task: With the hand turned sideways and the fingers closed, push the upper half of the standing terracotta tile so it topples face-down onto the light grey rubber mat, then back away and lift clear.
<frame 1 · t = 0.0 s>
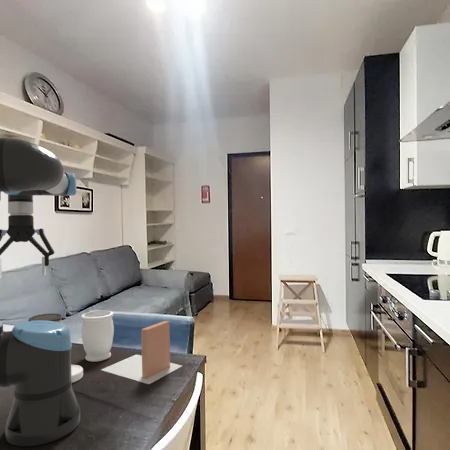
hand: (22, 276, 125), 28 cm above the table, tool pointing down, fingers open, 13 cm apart
coffee can: (46, 358, 125), on the table
mat: (142, 370, 113), on the table
white bowl: (64, 383, 106), on the table
jar: (98, 358, 125), on the table
tile: (156, 371, 110), point 1 cm above the table, touching mat
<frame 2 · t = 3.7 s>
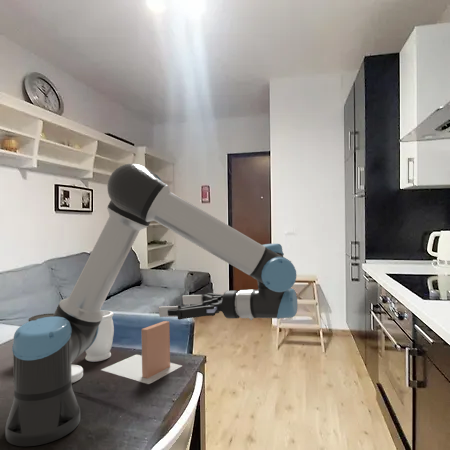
hand: (172, 305, 107), 21 cm above the table, tool horizontal, fingers open, 13 cm apart
nothing on the table moved.
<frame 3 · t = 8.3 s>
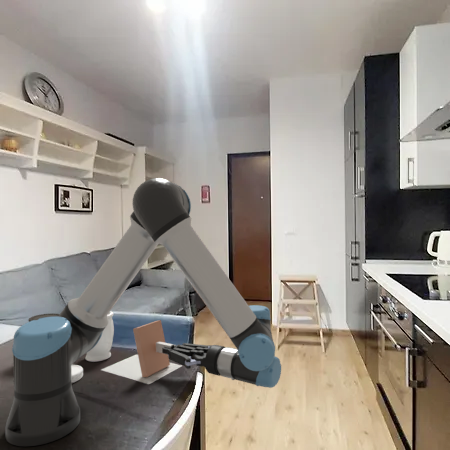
hand: (157, 346, 110), 8 cm above the table, tool horizontal, fingers closed
tile: (156, 370, 110), point 1 cm above the table, tilted 14°, touching mat
everything else where it was.
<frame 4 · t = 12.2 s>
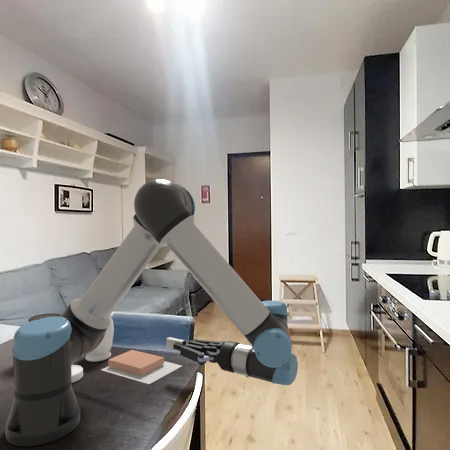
hand: (168, 342, 107), 11 cm above the table, tool horizontal, fingers closed
tile: (153, 366, 110), point 2 cm above the table, tilted 90°, touching mat
everything else where it was.
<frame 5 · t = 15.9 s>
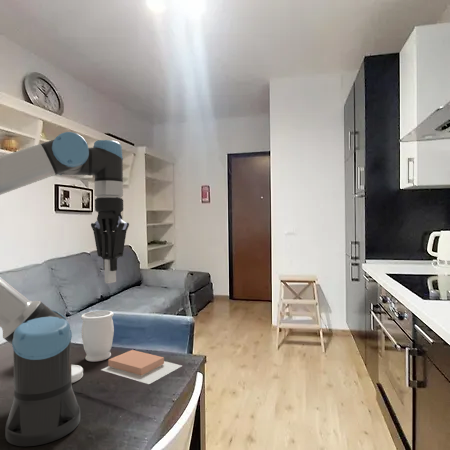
hand: (110, 282, 101), 29 cm above the table, tool pointing down, fingers closed
nothing on the table moved.
at the end: tile tilted 90°; tile touching mat; tile inside the target area on the mat (2.1 cm from its centre), point 2.4 cm above the mat's base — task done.
